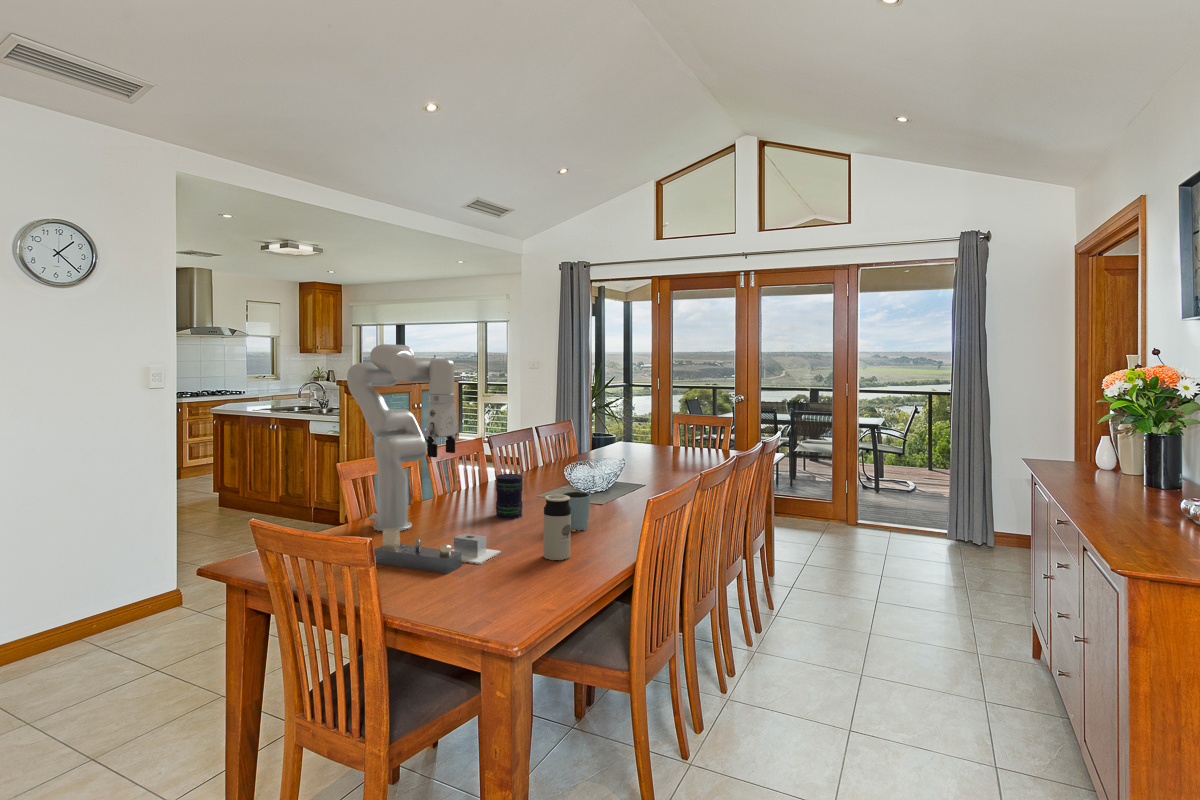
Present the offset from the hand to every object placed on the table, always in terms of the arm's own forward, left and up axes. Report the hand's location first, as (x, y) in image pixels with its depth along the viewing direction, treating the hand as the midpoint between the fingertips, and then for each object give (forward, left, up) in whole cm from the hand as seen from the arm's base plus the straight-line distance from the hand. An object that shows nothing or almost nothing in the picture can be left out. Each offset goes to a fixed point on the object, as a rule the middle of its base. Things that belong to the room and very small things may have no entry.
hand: (441, 454), depth 199 cm
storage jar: (+2, +41, -28) cm, 50 cm away
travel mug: (+38, +3, -28) cm, 48 cm away
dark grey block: (+5, -19, -28) cm, 34 cm away
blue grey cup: (+31, +35, -28) cm, 55 cm away
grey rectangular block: (+14, -6, -28) cm, 32 cm away
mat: (+14, -6, -28) cm, 32 cm away
